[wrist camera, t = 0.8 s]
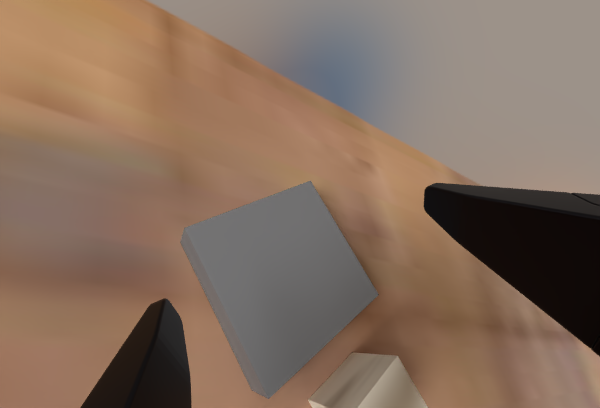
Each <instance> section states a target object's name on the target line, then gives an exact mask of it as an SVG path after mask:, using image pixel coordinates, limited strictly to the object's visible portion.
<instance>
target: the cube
mask: <svg viewBox="0 0 600 408" xmlns="http://www.w3.org/2000/svg"><path fill="white" fill-rule="evenodd" d="M308 400H309V402H310V404H311V406H312V408H428V407H427V405H426V403H425V402H424V400H423V398H422V397H421V395H420V393H419V391H418V390H417V388H416V386H415V385H414V383H413V381H412V380H411V378H410V376H409V374H408V373H407V371H406V369H405V368H404V366H403V364H402V363H401V361H400V359H399V357H398V356H396V355H381V354H367V353H353V352H352V353H351V354H350V355H349V356H348V357H347V358H346V360H345V361H344V362H343V363H342V364H341V365H340V366H339V367H338V368H337V369H336V370H335V371H334V372H333V373H332V374H331V376H330V377H329V378H328V379H327V380H326V381H325V382H324V383H323V384H322V385H321V386H320V387H319V388H318V389H317V390H316V392H315V393H314V394H313V395H312V396H311V397H310V398H309V399H308Z"/></svg>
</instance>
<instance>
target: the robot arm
mask: <svg viewBox="0 0 600 408" xmlns="http://www.w3.org/2000/svg"><path fill="white" fill-rule="evenodd" d="M424 209H425V211H426V213H427V214H428V215H429V216H430V217H431V218H432V219H434V220H435V221H436V222H437V223H438V224H439V225H440V226H441V227H442V228H443V229H444V230H445V231H446V232H447V233H448V234H449V235H450V236H451V237H452V238H453V239H454V240H456V241H457V242H458V243H459V244H460V245H461V246H463V247H464V248H465V249H466V250H468V251H469V252H470V253H471V254H473V255H474V256H475V257H476V258H478V259H479V260H480V261H481V262H483V263H484V264H485V265H486V266H488V267H489V268H490V269H491V270H493V271H494V272H495V273H496V274H498V275H499V276H500V277H501V278H503V279H504V280H505V281H506V282H508V283H509V284H510V285H511V286H513V287H514V288H515V289H516V290H518V291H519V292H520V293H521V294H523V295H524V296H525V297H526V298H528V299H529V300H530V301H532V302H533V303H534V304H535V305H537V306H538V307H539V308H540V309H542V310H543V311H544V312H545V313H547V314H548V315H549V316H550V317H552V318H553V319H554V320H555V321H557V322H558V323H559V324H560V325H562V326H563V327H564V328H565V329H567V330H568V331H569V332H570V333H572V334H573V335H574V336H575V337H577V338H578V339H579V340H580V341H582V342H583V343H584V344H585V345H587V346H588V347H589V348H591V350H592V351H594V352H595V353H596V354H597V355H599V356H600V195H594V194H581V193H571V194H570V193H567V192H553V191H539V190H526V189H513V188H499V187H486V186H472V185H459V184H446V183H435V184H432V185H430V186H428V187H426V189H425V193H424ZM81 408H191V382H190V371H189V364H188V357H187V351H186V344H185V337H184V331H183V324H182V320H181V318H180V316H179V314H178V313H177V311H176V310H175V309H174V307H173V306H172V304H171V303H170V301H169V300H168V299H162V300H159V301H157V302H155V303H152V304H151V305H150V306H149V307H148V308H147V310H146V311H145V313H144V314H143V316H142V317H141V319H140V320H139V322H138V323H137V325H136V326H135V328H134V329H133V330H132V332H131V333H130V335H129V336H128V338H127V339H126V341H125V342H124V344H123V345H122V347H121V348H120V350H119V351H118V353H117V354H116V356H115V357H114V359H113V360H112V362H111V363H110V365H109V366H108V368H107V369H106V370H105V372H104V373H103V375H102V376H101V378H100V379H99V381H98V382H97V384H96V385H95V387H94V388H93V390H92V391H91V393H90V394H89V396H88V397H87V399H86V400H85V402H84V403H83V405H82V406H81Z"/></svg>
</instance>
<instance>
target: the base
mask: <svg viewBox="0 0 600 408" xmlns="http://www.w3.org/2000/svg"><path fill="white" fill-rule="evenodd" d="M180 242H181V244H182V246H183V249H184V251H185V253H186V255H187V257H188V259H189V261H190V263H191V265H192V267H193V269H194V271H195V273H196V275H197V277H198V280H199V282H200V284H201V286H202V288H203V290H204V292H205V294H206V296H207V298H208V300H209V302H210V304H211V306H212V309H213V311H214V313H215V315H216V317H217V319H218V321H219V323H220V325H221V327H222V329H223V331H224V333H225V335H226V338H227V340H228V342H229V344H230V346H231V348H232V350H233V352H234V354H235V356H236V358H237V360H238V362H239V364H240V367H241V369H242V371H243V373H244V375H245V377H246V379H247V381H248V383H249V385H250V387H251V389H252V391H254V392H256V393H258V394H260V395H262V396H264V397H266V398H268V399H269V398H270V397H271V396H272V395H273V394H274V393H276V392H277V391H278V390H279V389H280V388H281V387H282V386H283V385H284V384H285V383H286V382H287V381H288V380H289V379H290V378H291V377H292V376H293V375H295V374H296V373H297V372H298V371H299V370H300V369H301V368H302V367H303V366H304V365H305V364H306V363H307V362H308V361H309V360H310V359H311V358H312V357H314V356H315V355H316V354H317V353H318V352H319V351H320V350H321V349H322V348H323V347H324V346H325V345H326V344H327V343H328V342H329V341H330V340H331V339H333V338H334V337H335V336H336V335H337V334H338V333H339V332H340V331H341V330H342V329H343V328H344V327H345V326H346V325H347V324H348V323H349V322H350V321H352V320H353V319H354V318H355V317H356V316H357V315H358V314H359V313H360V312H361V311H362V310H363V309H364V308H365V307H366V306H367V305H368V304H369V303H371V302H372V301H373V300H374V299H375V298H376V297H377V296H378V295H379V294H378V293H377V291H376V289H375V288H374V286H373V284H372V283H371V281H370V279H369V278H368V276H367V274H366V273H365V271H364V269H363V268H362V266H361V264H360V263H359V261H358V259H357V258H356V256H355V254H354V253H353V251H352V249H351V248H350V246H349V244H348V243H347V241H346V239H345V238H344V236H343V234H342V233H341V231H340V229H339V227H338V226H337V224H336V222H335V221H334V219H333V217H332V216H331V214H330V212H329V211H328V209H327V207H326V206H325V204H324V202H323V201H322V199H321V197H320V196H319V194H318V192H317V191H316V189H315V187H314V186H313V184H312V182H311V181H308V182H306V183H303V184H300V185H298V186H295V187H292V188H290V189H287V190H284V191H282V192H279V193H276V194H274V195H271V196H268V197H266V198H263V199H260V200H258V201H255V202H252V203H250V204H247V205H244V206H242V207H239V208H236V209H234V210H231V211H228V212H226V213H223V214H220V215H218V216H215V217H212V218H210V219H207V220H204V221H202V222H199V223H196V224H194V225H191V226H188V227H186V228H184V231H183V235H182V238H181V241H180Z"/></svg>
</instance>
